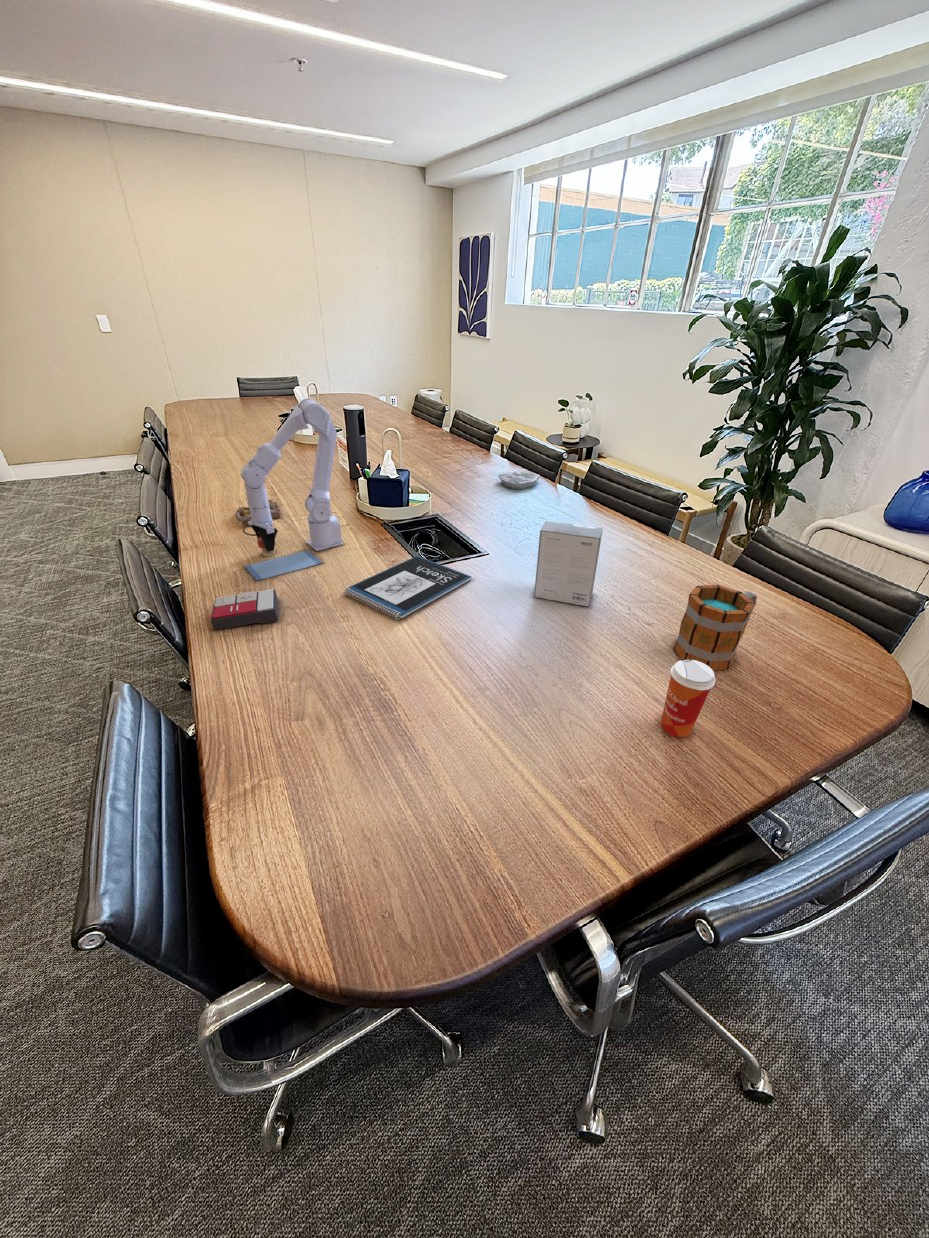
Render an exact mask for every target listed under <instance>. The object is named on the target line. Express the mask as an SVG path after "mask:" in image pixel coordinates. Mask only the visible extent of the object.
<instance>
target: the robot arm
mask: <svg viewBox="0 0 929 1238" xmlns="http://www.w3.org/2000/svg"><path fill="white" fill-rule="evenodd" d="M331 417H332V416H331V414H330V413H329V411H328V410H327V409H326V408H325V407H324V406H323V405H322V404H321V403H318V402H317V401H316V400H314V399H312V398H309V397H308V398H304V399H302V400H301V401H299V403H298V405H297V406H295V407H294V408H293V409H292V411H291V413H290V415H289V416H288V417H287V419H286V420H285V421H284V423H283V424H282V426H281V427H280V428H279V430H278V431H277V432H276V434H275V436H273V438H272V440H271V441H270V442H265V443H263V444H262V445H258V446H257V447H256V450H257V452H256V453H255V454H254V455H253V456H252V458H251V459H248V460H247V464H245V465H244V466H243V467H242V468H241V472H240V477H241V478H242V480H243V482H244V489H245V495H246V496H245V497H246V500H247V505H248V506H247V507H249V510H250V511H249V510H248V511H249V514H250V515H249V516H251V521H248V524H249V525H248V526H250V527H251V529H252V530H253V532H254V534H256V536H255V537H256V538H257V541H258V540H259V537H261V538H262V540H263V543H264V546H265V548H266V550H267V552H269V551H273V550H274V551H275V546H276V545H275V543H276V537H277V534H278V529H277V528H276V527H274V524H273V522H274V521H273V518H271V513H270V508H269V503H268V500H269V498H268V493H267V489H266V486H265V483H266V476H267V475H269V474H270V472H271V471H272V469H274V467H275V466H276V464H277V463H278V462H279V460H280V459H282V455H281V454H282V453H281V450H283V448H284V447H285V446H286V445H287V444H288V443H289V442H290V440H291V439H292V438H293V436H295V434H296V433H297V432H299V431H301V430H308V429H310V427H309V426H308V425H310V426H311V427H312V429H313V430H314V431H315V432H316V434H317V435H318V440H317V446H316V454H315V460H314V461H315V462H314V470H313V476H312V477H313V478H312V484H311V487H310V488H309V491H308V492H309V493H308V496H307V497H306V499H305V501H304V507H305V509H306V511H307V512H309V513H308V517H307V524H308V530H309V535H310V540H308V541H306V543H307V545H308V546H309V547H311V548H312V549H313V550H315V551H317V552H319V551H323V550H326V549H331V548H334V547H338V546H342V545H344V542H343V538H342V527H341V523H340V521H339V518H338V517H337V516H336V515H332V508H331V495H330V485H331V478H332V472H333V464H334V459H335V451H336V443H337V437H338V435H337V434H338V432H337V430H336V427H335V425H334V423H333V420H332V418H331Z"/></svg>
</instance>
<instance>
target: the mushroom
mask: <svg viewBox="0 0 929 1238" xmlns="http://www.w3.org/2000/svg"><path fill="white" fill-rule="evenodd" d="M256 543H257V547H258V548H259V549H261V553H262V556H263V557H271V556H274V555H275V553H276V552H275V549H274V550H273V551H269V552H267V550H266V548H265V546H264V543H263V540H262V538H261V537H259V540H258V539H257V542H256ZM276 545H277V544H276V542H275V546H276Z"/></svg>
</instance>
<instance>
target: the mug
mask: <svg viewBox="0 0 929 1238" xmlns="http://www.w3.org/2000/svg"><path fill="white" fill-rule="evenodd" d="M757 599H758V595H757V594H756V593H754V592H752V591H747V590H746V591H745V592H742V591H740V590H737V589H734V588H729V587H726V586H723V585H720V584H705V585H701V584H700V585H695V587H694V588H693V589H692V590H691V591H690V593H688V600H687V605H686V609H685V612H684V615H683V617H682V619H681V622H680V625H679V632H678V636H677V638H676V642H675V644H674V646H673V648H672V649H673V651H674V652H675V653H676V655H677V656H678V657H679V658H680V660H681V661H683V660H690V661H691V660H696V661H699V662H702V663H704V664H706V665H707V666H709V667H710V668H711V669H712V670H713V671H727V670H730V667H731V665H732V663H733V662H734V660H735V657H736V653H737V652H736V651H737V649H738V646H739V643H740V641H741V640H742V637H743V635H744V633H745V630H746V628H747V625H748V623H749V620H750V618H751V615H752V612H753V611H754V608H755V606H756V604H757Z"/></svg>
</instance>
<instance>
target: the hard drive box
mask: <svg viewBox="0 0 929 1238" xmlns="http://www.w3.org/2000/svg"><path fill="white" fill-rule="evenodd" d="M603 530H604V528H603V527H597V526H590V525H581V524H575V523H566V522H565V523H564V522H559V521H558V522H557V521H550V520H549V521H548V520H545V521H544V523H543V524H542V526H541V528H540V530H539V539H538V548H537V549H538V551H537V560H536V561H537V562H536V569H535V570H536V572H535V582H534V593H533V597H534V598H537V599H538V598H539V599H543V600H544V599H545V600H548V601H555V602H560V603H566V604H571V605H577V606H584V607H590V606H591V602H592V598H593V593H594V586H595V580H596V575H597V574H596V573H597V567H598V561H599V556H600V555H599V554H600V549H601V543H602V536H603Z"/></svg>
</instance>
